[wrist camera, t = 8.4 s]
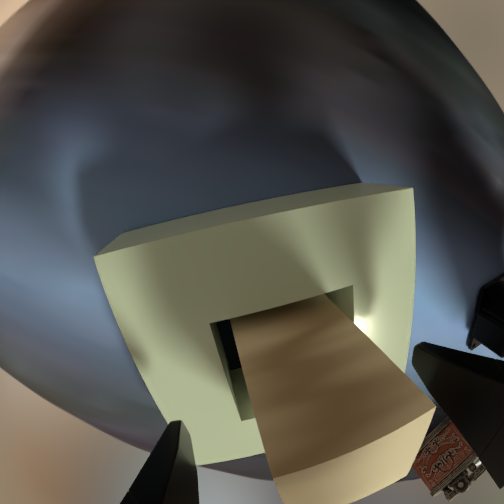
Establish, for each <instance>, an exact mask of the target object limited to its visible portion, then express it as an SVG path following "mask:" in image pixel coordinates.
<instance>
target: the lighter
mask: <svg viewBox="0 0 504 504" xmlns="http://www.w3.org/2000/svg"><path fill="white" fill-rule="evenodd" d="M477 460H478V457H477V455H476V454H475V452H474V451H473V450H472V448H471V447H470V445H469V444H468V443H467V441H466V440H465V439H464V437H463V436H462V435H461V433H460V432H459V431H458V429H457V428H456V426H455V425H454V424H453V422H452V421H451V420H450V419H449V417H447V418H445V419H444V420H443V421H442V422H441V423H440V424H439V425H438V426H437V427H436V428H435V429H434V430H433V431H432V432H431V433H430V434H429V435H428V436H427V437H426V438H425V439H424V440H423V442H422V445H421V447H420V449H419V451H418V453H417V456H416V458H415V460H414V462H413V464H412V467H413V468H414V469H415V471H416V472H417V473H418V475H419V476H420V478H421V479H422V480H423V482H424V483H425V484H426V486H427V487H428V489H429V490H430V491H431V492H430V494H431V495H432V497H435V496H437V495H438V494H439V493H441V492H442V491H444V494H445V496H446V499H447V500H448V501H451V500H452V499H454V498H455V497H456V496H457V495H458V494H459V493H463V492H465V491H467V490H468V489H469V488H470V487H471V483H472V482H473V481H476V480H477V479H478V478H479V477H480V476H481V475H482V474H484V472H485V471H487V470H486V468H485V467H484V465H483V464H481V465H480V466H479V467H478V468H476V465H475V464H474V463H475V462H476V461H477ZM468 469H470V471H472V472H473V473H471V474H470V475H469V476H468V471H467V470H468ZM448 487H452V488H453V489H454V490H453V491H452V490H451V489H449V488H448Z"/></svg>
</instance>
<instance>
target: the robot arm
mask: <svg viewBox="0 0 504 504" xmlns="http://www.w3.org/2000/svg"><path fill="white" fill-rule="evenodd" d="M480 344H483V345H484V346H486V347H487V348H488V349H490V350H491V351H493V352H494V353H495V354H497V355H498V356H500V357H501V358H503V357H504V274H502V275H501V276H499V277H498V278H496V279H495V280H493V281H491V282H490V283H488V284H487V285H485V286H483V287H482V288H481V290H480V292H479V298H478V303H477V309H476V314H475V319H474V324H473V328H472V333H471V337H470V341H469V345H468V348H469V349H470V350H473V349H474V348H476V347H477V346H479V345H480ZM412 365H413V367H414V369H415V370H416V372H417V373H418V375H419V377H420V378H421V380H422V381H423V383H424V385H425V386H426V388H427V389H428V391H429V392H430V394H431V395H432V397H433V398H434V399H435V400H436V402H437V403H438V404H439V406H440V407H441V408H442V409H443V411H444V412H445V413H446V415H447V416H448V417H449V419H450V420H451V421H452V422H453V424H454V425H455V426H456V428H457V429H458V431H459V432H460V433H461V435H462V436H463V437H464V439H465V440H466V441H467V443H468V444H469V445H470V447H471V448H472V450H473V451H474V452H475V454H476V455H477V457H478V458H479V460H480V461H481V463H482V464H483V465H484V467H485V468H486V470H487V471H488V473H489V474H490V476H491V477H492V478H493V480H494V481H495V483H496V484H497V486H498V487H499V488H500V489H501V488H502V487H503V486H504V361H502V360H498V359H496V360H495V359H493V358H489V357H484V356H480V355H476V354H471V353H467V352H463V351H459V350H455V349H451V348H447V347H443V346H439V345H435V344H431V343H427V342H421V343H419V344H417V345H415V347H414V350H413V356H412ZM120 504H199V492H198V477H197V469H196V464H195V458H194V452H193V447H192V441H191V436H190V433H189V431H188V430H187V428H186V426H185V424H184V423H183V421H182V420H175V421H171V422H169V424H168V426H167V427H166V429H165V431H164V432H163V434H162V436H161V437H160V439H159V441H158V442H157V444H156V446H155V447H154V449H153V451H152V452H151V454H150V456H149V457H148V459H147V461H146V462H145V464H144V466H143V467H142V469H141V471H140V472H139V474H138V476H137V477H136V479H135V480H134V482H133V484H132V485H131V487H130V489H129V491H128V492H127V493H126V495H125V497H124V498H123V500H122V501H121V503H120Z"/></svg>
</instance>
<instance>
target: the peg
mask: <svg viewBox="0 0 504 504" xmlns="http://www.w3.org/2000/svg"><path fill="white" fill-rule="evenodd" d="M230 321H231V326H232V330H233V334H234V338H235V342H236V346H237V350H238V354H239V358H240V362H241V366H242V370H243V374H244V378H245V381H246V385H247V389H248V393H249V397H250V400H251V404H252V408H253V411H254V415H255V419H256V422H257V426H258V429H259V433H260V436H261V440H262V443H263V447H264V450H265V454H266V457H267V460H268V464H269V467H270V470H271V474H272V477H273V480H274V482H275V485H276V487H277V490H278V492H279V494H280V496H281V499H282V502H283V504H349V503H352V502H354V501H357V500H359V499H361V498H364V497H366V496H368V495H370V494H372V493H374V492H376V491H378V490H380V489H382V488H384V487H386V486H388V485H390V484H392V483H394V482H396V481H398V480H399V479H401V478H403V477H405V476H407V474H408V472H409V470H410V468H411V466H412V464H413V462H414V460H415V458H416V456H417V453H418V451H419V449H420V447H421V445H422V442H423V440H424V437H425V435H426V433H427V430H428V428H429V425H430V422H431V420H432V417H433V414H434V412H435V409H436V405H435V404H434V403H433V402H432V401H431V400H430V399H429V398H428V397H427V396H426V395H425V394H424V393H423V392H422V391H421V390H420V389H419V388H418V387H417V386H416V385H415V384H414V383H413V382H412V381H411V380H410V378H409V377H408V376H407V375H406V374H405V373H404V372H403V371H402V370H401V369H400V368H399V367H398V366H397V365H396V364H395V363H394V362H393V361H392V360H391V359H390V358H389V357H388V356H387V355H386V354H385V353H384V352H383V351H382V350H381V349H380V348H379V347H378V346H377V345H376V344H375V343H374V342H373V341H372V340H371V339H370V338H369V337H368V336H367V335H366V334H365V333H364V332H363V331H362V330H361V329H360V328H359V327H358V326H356V325H355V324H354V323H353V322H352V321H351V320H350V319H349V318H348V317H347V316H346V315H345V314H344V313H343V312H342V311H341V310H340V309H339V308H338V307H337V306H336V305H335V304H334V303H333V302H332V301H331V300H330V299H329V298H328V297H327V296H326V295H325V294H321V295H318V296H314V297H311V298H307V299H304V300H300V301H296V302H293V303H289V304H285V305H282V306H278V307H274V308H270V309H267V310H263V311H259V312H255V313H251V314H247V315H243V316H239V317H235V318H230Z"/></svg>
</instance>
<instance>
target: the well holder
mask: <svg viewBox="0 0 504 504" xmlns="http://www.w3.org/2000/svg"><path fill="white" fill-rule="evenodd" d="M93 257H94V261H95V264H96V267H97V270H98V273H99V276H100V279H101V282H102V285H103V287H104V290H105V293H106V296H107V298H108V301H109V304H110V306H111V309H112V311H113V314H114V316H115V319H116V321H117V324H118V326H119V329H120V331H121V333H122V336H123V338H124V340H125V342H126V345H127V347H128V349H129V351H130V353H131V355H132V358H133V360H134V362H135V364H136V366H137V368H138V370H139V372H140V374H141V376H142V378H143V380H144V382H145V384H146V386H147V388H148V389H149V391H150V393H151V395H152V397H153V399H154V400H155V402H156V404H157V406H158V408H159V409H160V411H161V413H162V415H163V416H164V418H165V420H166V421H167V423H168V424H169V422H171V421H175V420H182V421H183V423H184V424H185V426H186V428H187V430H188V431H189V433H190V436H191V441H192V447H193V452H194V458H195V464H196V465H203V464H210V463H216V462H222V461H228V460H233V459H238V458H243V457H248V456H252V455H256V454H261V453H265V450H264V447H263V443H262V440H261V436H260V433H259V429H258V426H257V422H256V419H255V415H254V411H253V408H252V404H251V400H250V397H249V393H248V389H247V385H246V381H245V378H244V374H243V370H242V368H238V369H234V370H230V367H229V364H228V360H227V357H226V354H225V350H224V347H223V343H222V340H221V337H220V333H219V330H218V326H217V323H216V322H218V321H222V320H226V319H230V318H235V317H239V316H243V315H247V314H251V313H255V312H259V311H263V310H267V309H270V308H274V307H278V306H282V305H285V304H289V303H293V302H296V301H300V300H304V299H307V298H311V297H314V296H318V295H321V294H325V295H326V296H327V297H328V298H329V299H330V300H331V301H332V302H333V303H334V304H335V305H336V306H337V307H338V308H339V309H340V310H341V311H342V312H343V313H344V314H345V315H346V316H347V317H348V318H349V319H350V320H351V321H352V322H353V323H354V324H355V325H356V326H358V327H359V328H360V329H361V330H362V331H363V332H364V333H365V334H366V335H367V336H368V337H369V338H370V339H371V340H372V341H373V342H374V343H375V344H376V345H377V346H378V347H379V348H380V349H381V350H382V351H383V352H384V353H385V354H386V355H387V356H388V357H389V358H390V359H391V360H392V361H393V362H394V363H395V364H396V365H397V366H398V367H399V368H400V369H401V370H402V371H403V372H404V373H405V368H406V363H407V356H408V350H409V342H410V334H411V326H412V316H413V304H414V289H415V262H416V236H415V209H414V194H413V188H410V187H402V186H393V185H384V184H374V183H363V182H362V183H356V184H349V185H343V186H337V187H331V188H325V189H319V190H314V191H308V192H302V193H297V194H292V195H286V196H281V197H276V198H271V199H266V200H261V201H256V202H251V203H246V204H241V205H237V206H232V207H227V208H223V209H218V210H214V211H209V212H205V213H200V214H196V215H192V216H188V217H183V218H179V219H175V220H171V221H167V222H163V223H159V224H155V225H151V226H147V227H143V228H139V229H135V230H132V231H128V232H124V233H122V234H120V235H119V236H118V237H117V238H115V239H114V240H113V241H112V242H110V243H109V244H108V245H107V246H106V247H104V248H103V249H102V250H101V251H99V252H98V253H97V254H96V255H95V256H93Z"/></svg>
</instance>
